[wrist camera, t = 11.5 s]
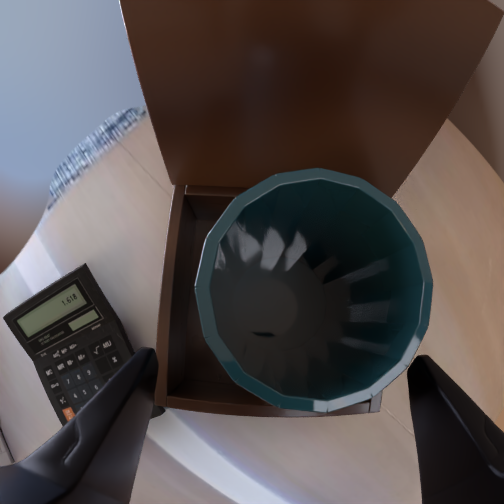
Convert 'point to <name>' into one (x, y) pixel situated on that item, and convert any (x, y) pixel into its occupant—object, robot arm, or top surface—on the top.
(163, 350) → the brown wooden square box
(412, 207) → the top surface
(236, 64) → the lid
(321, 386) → the teal drinking tumbler
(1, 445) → the tape cartridge
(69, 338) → the calculator
